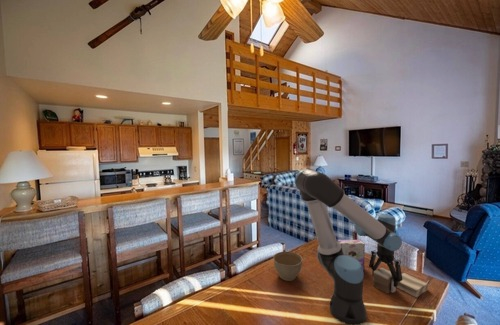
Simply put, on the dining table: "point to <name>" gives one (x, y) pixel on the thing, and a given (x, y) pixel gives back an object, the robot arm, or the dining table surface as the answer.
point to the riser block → (412, 285)
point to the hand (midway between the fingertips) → (384, 286)
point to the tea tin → (383, 280)
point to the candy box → (353, 249)
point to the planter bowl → (288, 265)
